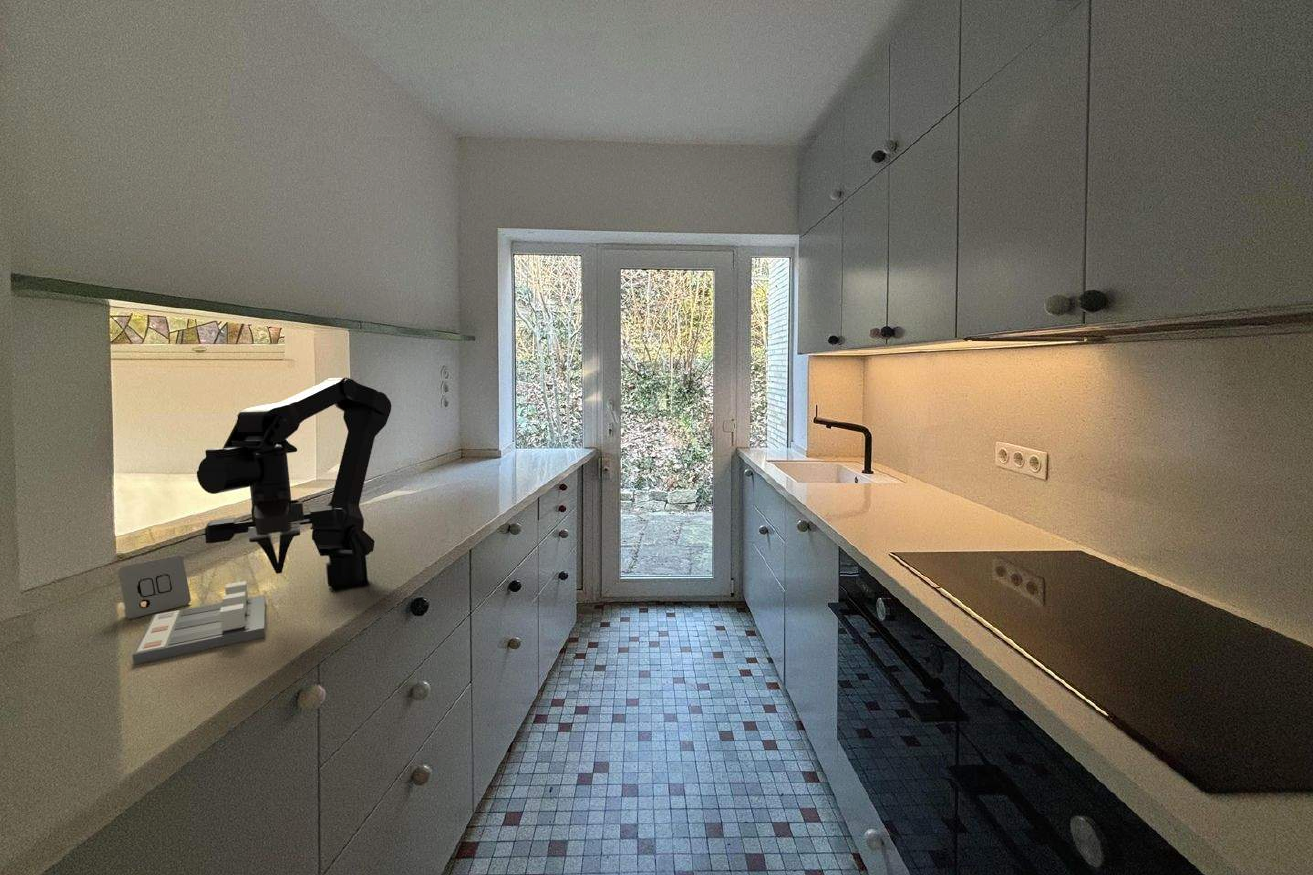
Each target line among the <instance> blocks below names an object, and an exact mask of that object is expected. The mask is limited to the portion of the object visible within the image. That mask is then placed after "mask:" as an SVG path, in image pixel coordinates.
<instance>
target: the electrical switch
mask: <svg viewBox="0 0 1313 875" xmlns="http://www.w3.org/2000/svg"><path fill="white" fill-rule="evenodd" d="M116 574H117V577H118V579H119V584H120V589H121V594H122V599H123V600H122V601H123V606H124V609H123V611H124V616H125V618H126V619H128V620H132V619H137V618H141V617H145V616H149V615H154V614H158V613H162V612H164V611H169V610H173V609H176V608H181V607H184V606H187V605H189V604H190V603H191V601H192V598H191V592H190V586H189V584H188V583H189V582H188V578H187V572H186V567H185V563H184V557H183V556H182V555H180V554H175V555H170V556H167V557H161V558H157V559H156V558H155V559H151V560H146V561H140V562H135V563H130V564H126V565H121V566H119V567H118V568H117V570H116ZM143 602H145V606H142V603H143Z"/></svg>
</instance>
